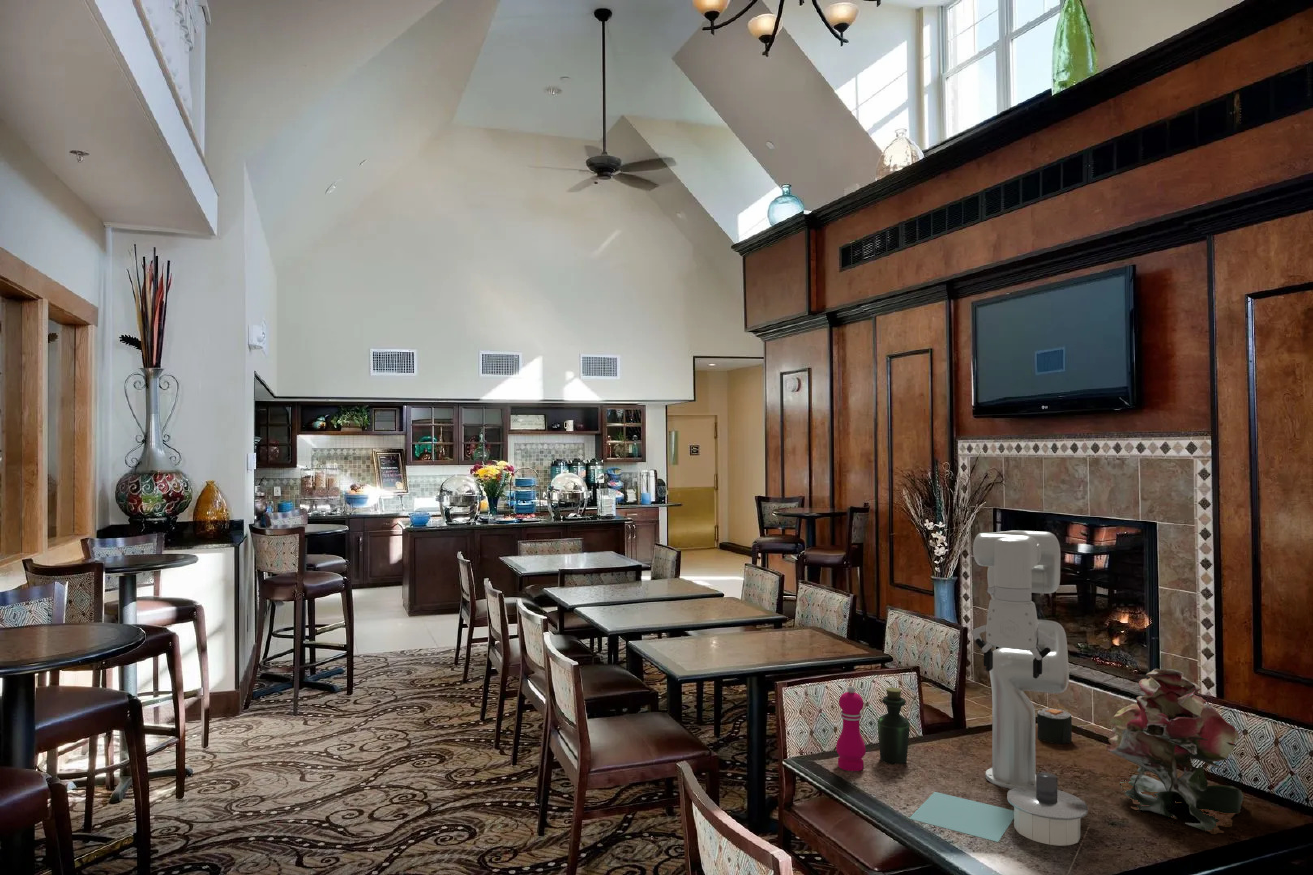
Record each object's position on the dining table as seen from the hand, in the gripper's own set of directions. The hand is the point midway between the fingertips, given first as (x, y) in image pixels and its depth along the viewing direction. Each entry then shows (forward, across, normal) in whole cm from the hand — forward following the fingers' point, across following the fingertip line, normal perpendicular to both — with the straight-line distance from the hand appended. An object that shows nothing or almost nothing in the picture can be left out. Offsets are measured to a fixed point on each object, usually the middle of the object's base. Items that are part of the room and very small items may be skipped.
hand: (1012, 673), depth 182 cm
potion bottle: (+31, -32, +16) cm, 47 cm away
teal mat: (+30, -8, -8) cm, 32 cm away
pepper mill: (+31, -39, +5) cm, 50 cm away
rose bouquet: (+31, +28, +29) cm, 50 cm away
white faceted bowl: (+30, +8, -6) cm, 32 cm away
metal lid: (+24, +8, -6) cm, 26 cm away
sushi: (+31, -2, +60) cm, 67 cm away
